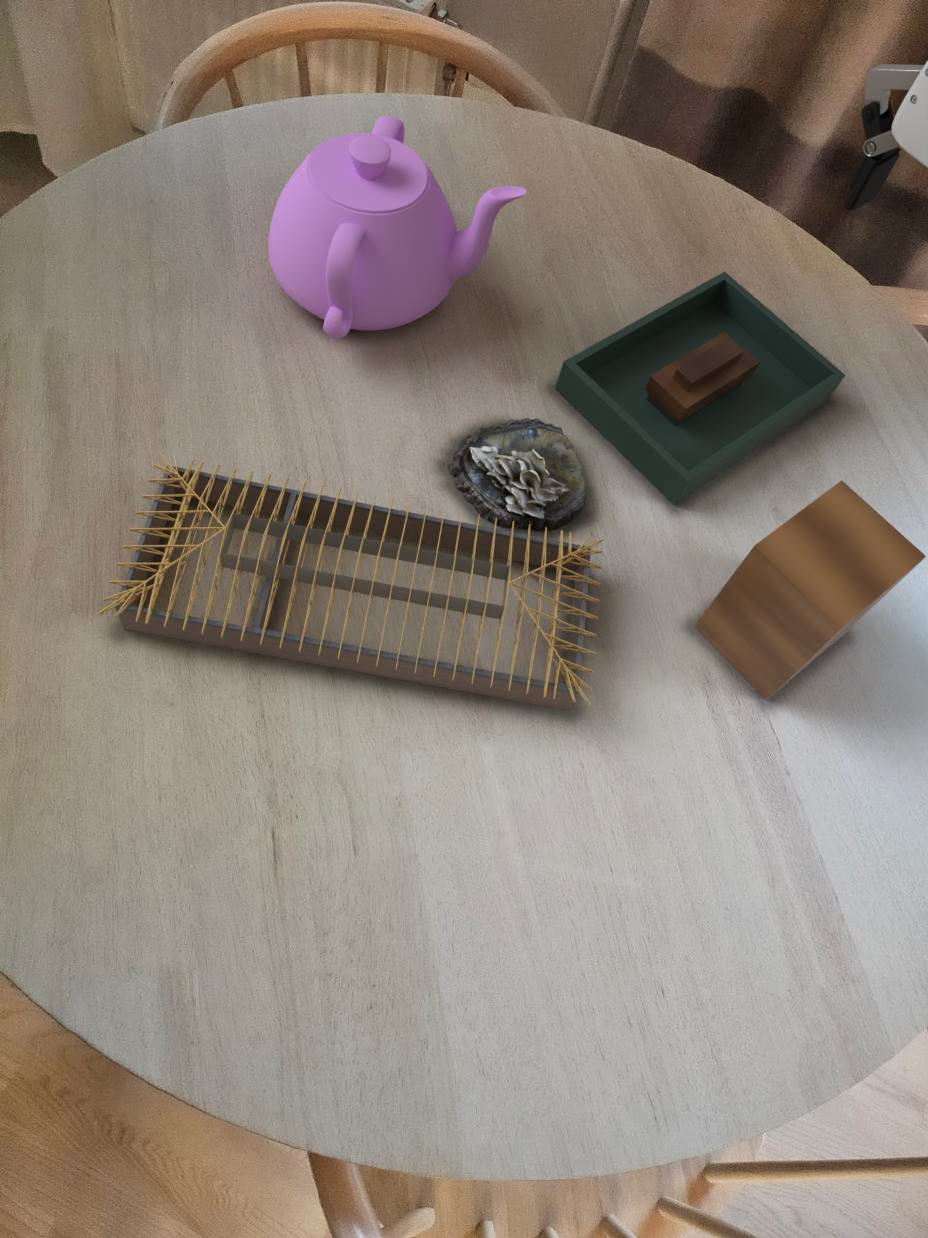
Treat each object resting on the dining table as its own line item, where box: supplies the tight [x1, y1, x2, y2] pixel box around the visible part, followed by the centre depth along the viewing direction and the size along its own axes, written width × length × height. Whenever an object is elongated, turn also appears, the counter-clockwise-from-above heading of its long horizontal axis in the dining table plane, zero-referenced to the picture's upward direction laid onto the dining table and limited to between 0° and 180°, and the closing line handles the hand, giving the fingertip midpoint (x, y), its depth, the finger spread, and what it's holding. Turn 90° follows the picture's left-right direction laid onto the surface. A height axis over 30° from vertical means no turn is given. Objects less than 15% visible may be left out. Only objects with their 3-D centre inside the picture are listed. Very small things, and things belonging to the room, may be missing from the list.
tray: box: [554, 271, 846, 506], centre depth 86 cm, size 22×16×4 cm
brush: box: [645, 332, 760, 426], centre depth 85 cm, size 10×4×4 cm, turn 130°
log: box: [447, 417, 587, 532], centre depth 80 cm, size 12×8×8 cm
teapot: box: [267, 115, 527, 339], centre depth 83 cm, size 22×22×14 cm
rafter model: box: [97, 452, 605, 711], centre depth 70 cm, size 35×14×6 cm, turn 82°
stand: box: [694, 480, 927, 701], centre depth 71 cm, size 10×8×12 cm
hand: (908, 241), depth 69 cm, fingers open, 9 cm apart
